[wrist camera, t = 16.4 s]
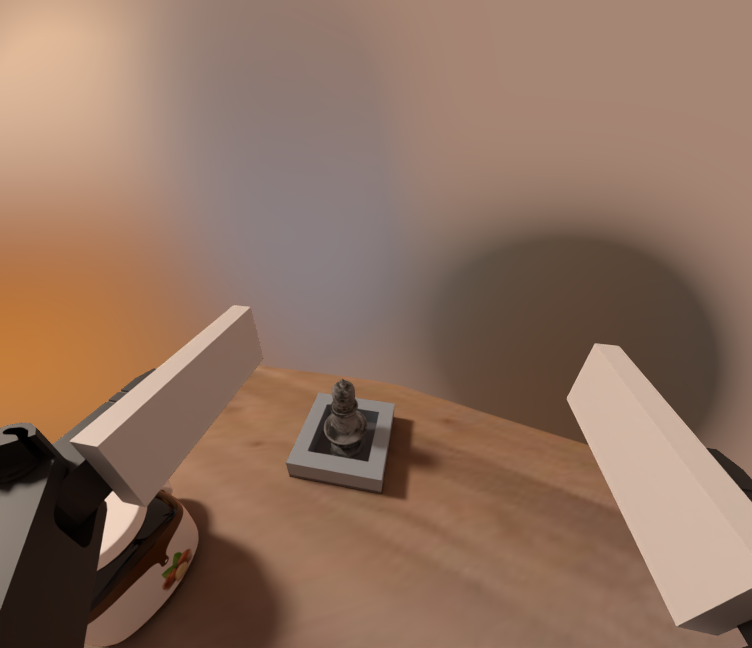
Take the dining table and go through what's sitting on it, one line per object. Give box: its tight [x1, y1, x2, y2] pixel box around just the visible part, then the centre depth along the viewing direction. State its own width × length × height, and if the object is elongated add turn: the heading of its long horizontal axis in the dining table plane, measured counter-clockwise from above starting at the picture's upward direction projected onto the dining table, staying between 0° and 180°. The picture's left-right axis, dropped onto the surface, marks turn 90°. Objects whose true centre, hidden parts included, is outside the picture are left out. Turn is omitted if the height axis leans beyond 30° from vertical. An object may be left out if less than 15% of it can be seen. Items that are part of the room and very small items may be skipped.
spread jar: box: [85, 480, 199, 647], centre depth 27 cm, size 12×11×12 cm
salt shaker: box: [324, 379, 367, 458], centre depth 39 cm, size 6×6×12 cm
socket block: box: [286, 393, 394, 494], centre depth 41 cm, size 12×12×3 cm
